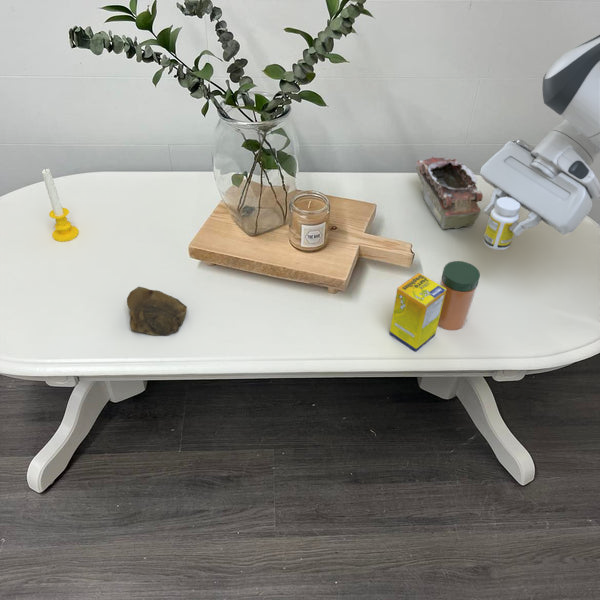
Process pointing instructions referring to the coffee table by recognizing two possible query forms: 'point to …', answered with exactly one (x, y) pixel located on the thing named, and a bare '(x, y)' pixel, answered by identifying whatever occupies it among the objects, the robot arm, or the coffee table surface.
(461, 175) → the decorative box
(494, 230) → the supplement bottle
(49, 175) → the candle
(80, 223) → the coffee table surface
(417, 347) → the supplement box
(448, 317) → the jar
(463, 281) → the lid
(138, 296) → the decorative stone
